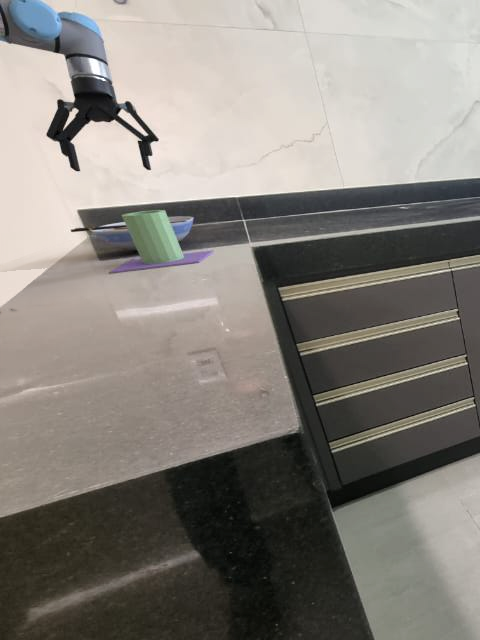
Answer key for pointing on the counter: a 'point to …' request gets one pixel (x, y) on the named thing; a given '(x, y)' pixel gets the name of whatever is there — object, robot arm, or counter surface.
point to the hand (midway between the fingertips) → (112, 169)
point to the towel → (139, 265)
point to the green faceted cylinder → (153, 236)
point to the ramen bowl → (122, 238)
